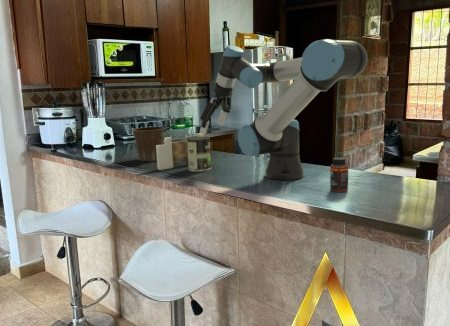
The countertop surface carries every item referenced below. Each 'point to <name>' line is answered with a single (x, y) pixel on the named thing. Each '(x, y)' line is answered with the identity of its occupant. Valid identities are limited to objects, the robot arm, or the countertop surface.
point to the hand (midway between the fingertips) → (211, 128)
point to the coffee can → (199, 153)
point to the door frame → (166, 153)
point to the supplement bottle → (339, 175)
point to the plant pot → (148, 142)
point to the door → (179, 153)
